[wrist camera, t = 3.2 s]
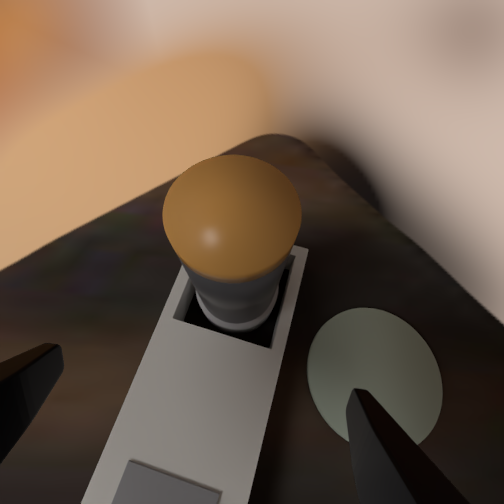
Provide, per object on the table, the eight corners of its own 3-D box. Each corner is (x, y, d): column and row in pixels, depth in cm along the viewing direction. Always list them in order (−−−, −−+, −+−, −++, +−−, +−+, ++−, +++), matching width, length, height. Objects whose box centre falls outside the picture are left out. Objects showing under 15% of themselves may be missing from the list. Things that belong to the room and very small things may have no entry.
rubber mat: (439, 329, 21) (444, 328, 21) (434, 472, 18) (440, 475, 17) (320, 294, 22) (322, 292, 22) (293, 424, 19) (295, 426, 18)
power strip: (300, 264, 23) (309, 248, 20) (201, 668, 14) (190, 743, 11) (206, 237, 24) (201, 218, 21) (56, 607, 15) (11, 663, 12)
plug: (281, 274, 23) (321, 169, 11) (262, 344, 21) (288, 302, 9) (215, 255, 23) (189, 136, 12) (190, 321, 21) (128, 254, 10)
